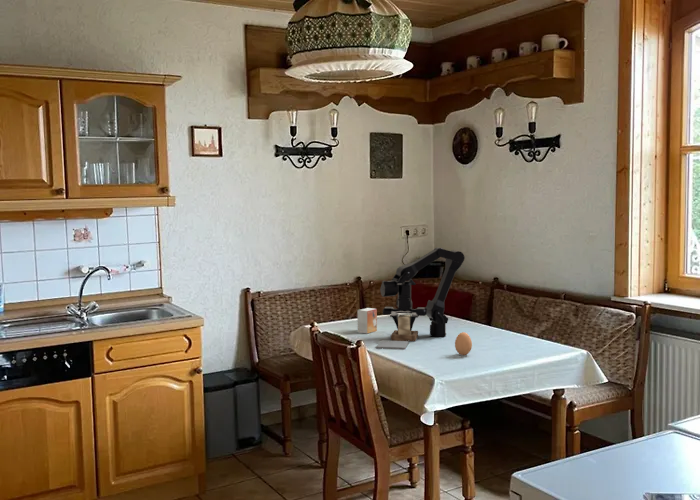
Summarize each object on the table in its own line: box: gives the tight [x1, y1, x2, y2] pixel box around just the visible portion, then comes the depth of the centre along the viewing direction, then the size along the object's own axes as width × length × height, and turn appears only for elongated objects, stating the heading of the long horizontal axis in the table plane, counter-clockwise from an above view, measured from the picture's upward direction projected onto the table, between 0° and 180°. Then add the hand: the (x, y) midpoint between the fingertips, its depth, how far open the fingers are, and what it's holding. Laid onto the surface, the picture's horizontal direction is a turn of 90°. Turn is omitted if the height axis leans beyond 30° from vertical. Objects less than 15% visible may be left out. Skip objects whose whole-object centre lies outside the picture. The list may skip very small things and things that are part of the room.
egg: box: [454, 331, 473, 356], centre depth 282 cm, size 7×7×9 cm
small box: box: [356, 307, 378, 334], centre depth 330 cm, size 8×6×10 cm
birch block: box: [397, 314, 412, 335], centre depth 314 cm, size 5×5×10 cm
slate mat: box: [375, 339, 410, 350], centre depth 300 cm, size 12×12×1 cm
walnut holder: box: [390, 329, 419, 342], centre depth 314 cm, size 10×10×2 cm
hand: (404, 330), depth 314 cm, fingers closed on birch block, 5 cm apart
